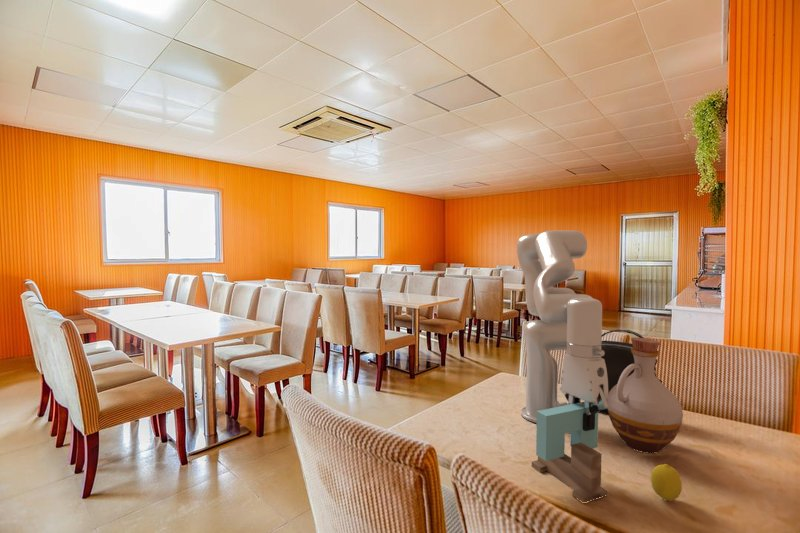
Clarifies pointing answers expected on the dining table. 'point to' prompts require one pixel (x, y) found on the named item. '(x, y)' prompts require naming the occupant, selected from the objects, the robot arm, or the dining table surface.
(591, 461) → the walnut stand
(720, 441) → the dining table surface
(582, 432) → the teal notched arch
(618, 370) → the shoulder bag
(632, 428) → the jug
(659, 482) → the lemon
